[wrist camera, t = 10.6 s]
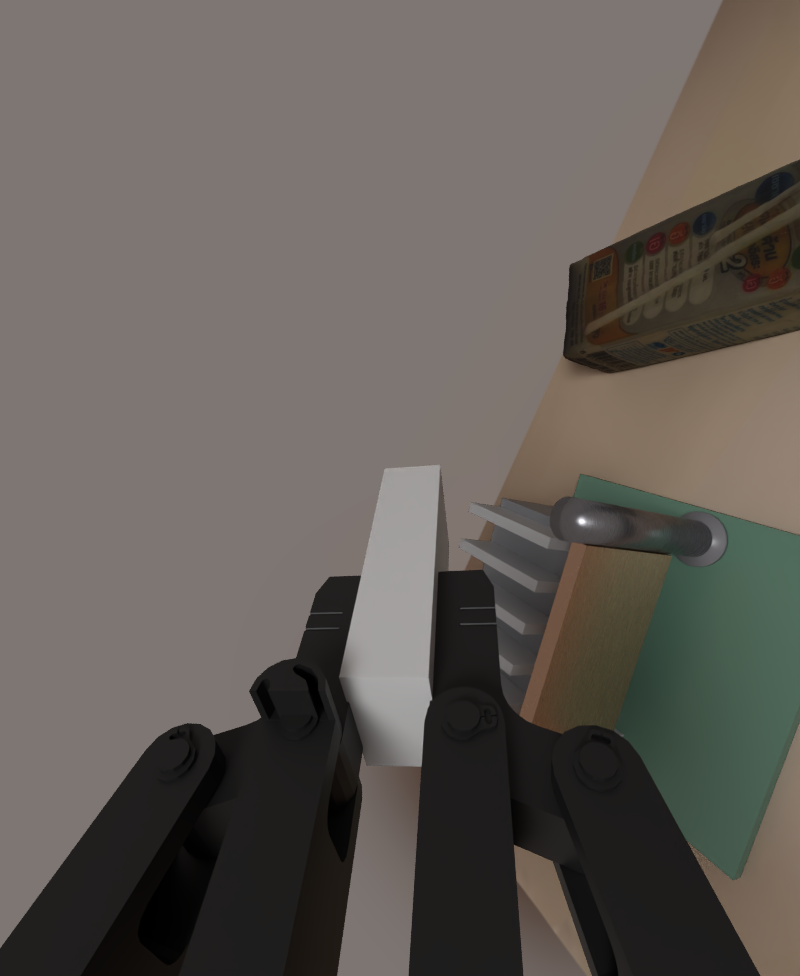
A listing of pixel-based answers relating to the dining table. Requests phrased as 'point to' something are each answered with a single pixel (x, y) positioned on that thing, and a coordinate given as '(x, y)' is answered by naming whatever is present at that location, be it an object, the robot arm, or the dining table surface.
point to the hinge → (602, 608)
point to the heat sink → (677, 657)
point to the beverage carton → (692, 280)
